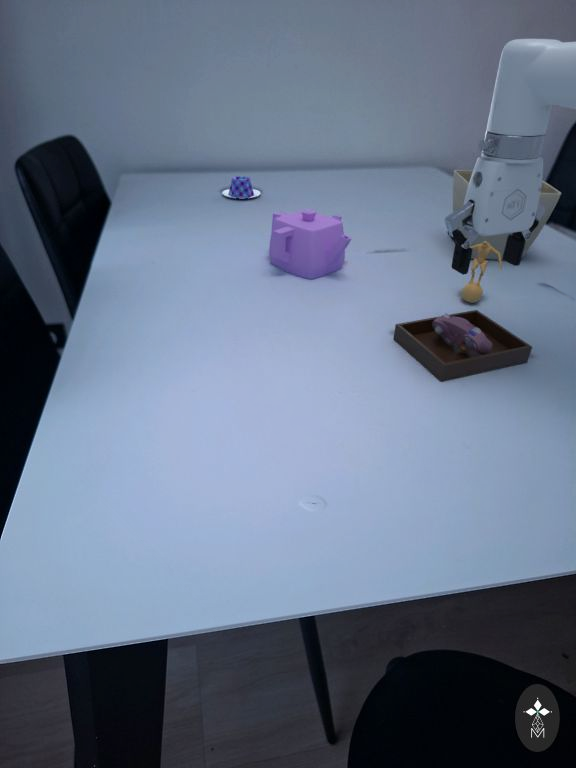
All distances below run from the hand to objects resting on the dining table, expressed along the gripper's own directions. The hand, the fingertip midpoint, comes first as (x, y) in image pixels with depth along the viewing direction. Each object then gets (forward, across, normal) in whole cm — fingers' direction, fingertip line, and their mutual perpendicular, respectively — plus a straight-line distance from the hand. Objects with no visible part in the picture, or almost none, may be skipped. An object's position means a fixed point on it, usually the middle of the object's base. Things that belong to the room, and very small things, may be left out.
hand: (485, 266), depth 82 cm
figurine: (+15, +14, +17) cm, 27 cm away
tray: (+15, -1, +1) cm, 15 cm away
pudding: (+14, -7, +104) cm, 105 cm away
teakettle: (+14, -10, +44) cm, 47 cm away
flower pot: (+15, +36, +39) cm, 55 cm away
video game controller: (+15, -1, +1) cm, 15 cm away
